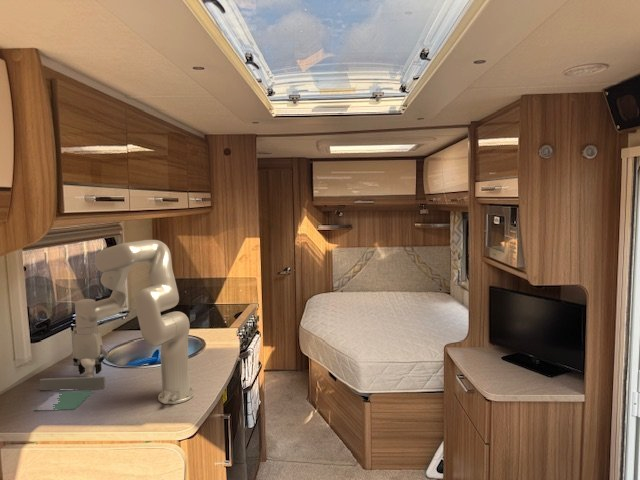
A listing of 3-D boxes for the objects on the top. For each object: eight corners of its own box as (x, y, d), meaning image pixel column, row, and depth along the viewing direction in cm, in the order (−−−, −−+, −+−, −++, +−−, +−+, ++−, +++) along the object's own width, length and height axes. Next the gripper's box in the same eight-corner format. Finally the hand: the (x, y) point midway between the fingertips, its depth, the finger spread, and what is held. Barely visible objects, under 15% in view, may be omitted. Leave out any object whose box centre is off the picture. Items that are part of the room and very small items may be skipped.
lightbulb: (83, 376, 178) (81, 351, 177) (100, 374, 180) (98, 348, 179) (80, 382, 172) (78, 356, 171) (98, 380, 175) (96, 353, 174)
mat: (74, 409, 150) (74, 408, 150) (33, 411, 149) (33, 410, 149) (93, 391, 164) (93, 390, 164) (55, 393, 163) (55, 392, 163)
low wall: (104, 388, 166) (103, 377, 166) (40, 391, 165) (39, 380, 165) (105, 387, 168) (105, 376, 167) (42, 389, 166) (41, 378, 166)
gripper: (60, 333, 170) (63, 377, 172) (105, 332, 171) (107, 375, 173) (70, 327, 178) (73, 370, 179) (113, 326, 179) (115, 368, 180)
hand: (90, 372), depth 176 cm, fingers closed on lightbulb, 5 cm apart
